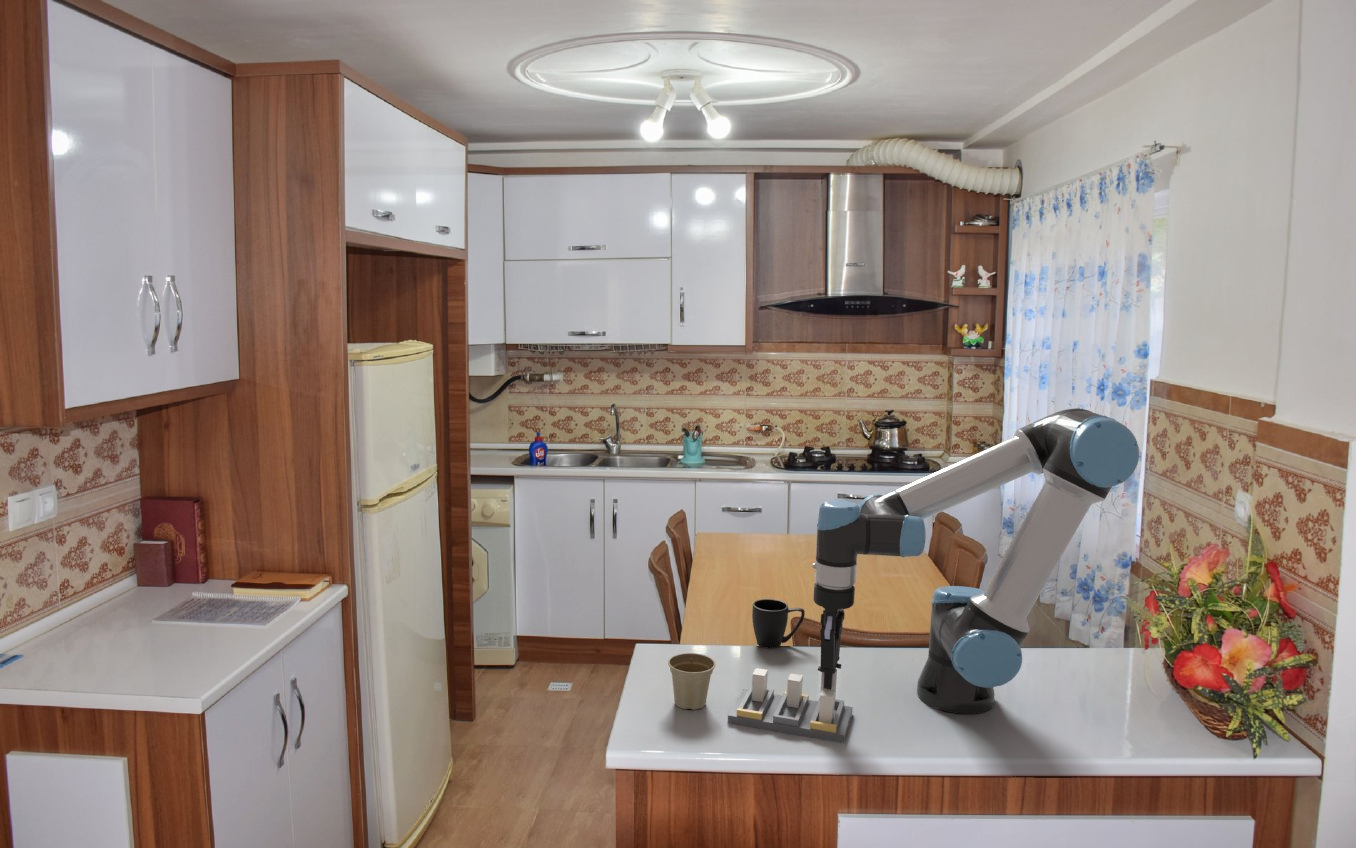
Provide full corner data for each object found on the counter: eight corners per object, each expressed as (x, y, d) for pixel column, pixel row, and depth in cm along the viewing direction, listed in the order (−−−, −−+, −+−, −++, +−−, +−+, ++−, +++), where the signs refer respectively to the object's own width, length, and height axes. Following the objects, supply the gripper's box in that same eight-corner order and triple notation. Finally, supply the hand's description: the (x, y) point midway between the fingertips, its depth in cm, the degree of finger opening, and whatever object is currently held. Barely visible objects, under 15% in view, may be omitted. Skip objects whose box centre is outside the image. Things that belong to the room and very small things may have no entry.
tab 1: (766, 695, 181) (767, 669, 180) (763, 702, 178) (764, 675, 177) (754, 693, 182) (756, 668, 181) (751, 700, 179) (752, 674, 178)
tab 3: (833, 717, 173) (835, 690, 172) (831, 724, 170) (832, 697, 169) (821, 715, 173) (822, 688, 172) (818, 722, 170) (820, 695, 170)
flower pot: (721, 699, 183) (722, 658, 181) (702, 718, 174) (704, 676, 173) (679, 689, 187) (680, 649, 185) (658, 708, 178) (659, 666, 177)
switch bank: (852, 714, 178) (852, 701, 177) (843, 743, 166) (844, 729, 166) (742, 696, 184) (743, 683, 184) (727, 722, 173) (728, 709, 172)
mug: (803, 653, 207) (805, 613, 205) (750, 649, 208) (752, 610, 206) (802, 639, 215) (804, 600, 213) (751, 636, 216) (752, 597, 214)
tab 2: (801, 701, 179) (802, 675, 178) (798, 708, 176) (800, 681, 175) (789, 699, 180) (790, 673, 179) (786, 706, 177) (787, 679, 176)
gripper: (820, 570, 177) (814, 684, 181) (808, 591, 165) (801, 713, 168) (859, 575, 175) (852, 691, 178) (850, 597, 162) (842, 720, 166)
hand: (827, 701), depth 173 cm, fingers closed
